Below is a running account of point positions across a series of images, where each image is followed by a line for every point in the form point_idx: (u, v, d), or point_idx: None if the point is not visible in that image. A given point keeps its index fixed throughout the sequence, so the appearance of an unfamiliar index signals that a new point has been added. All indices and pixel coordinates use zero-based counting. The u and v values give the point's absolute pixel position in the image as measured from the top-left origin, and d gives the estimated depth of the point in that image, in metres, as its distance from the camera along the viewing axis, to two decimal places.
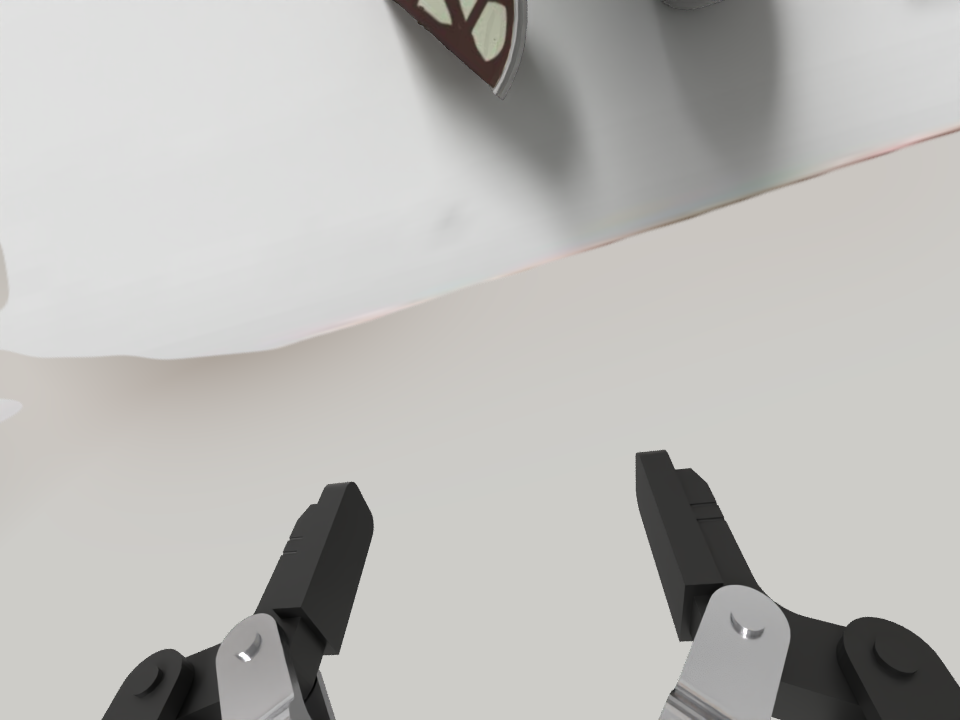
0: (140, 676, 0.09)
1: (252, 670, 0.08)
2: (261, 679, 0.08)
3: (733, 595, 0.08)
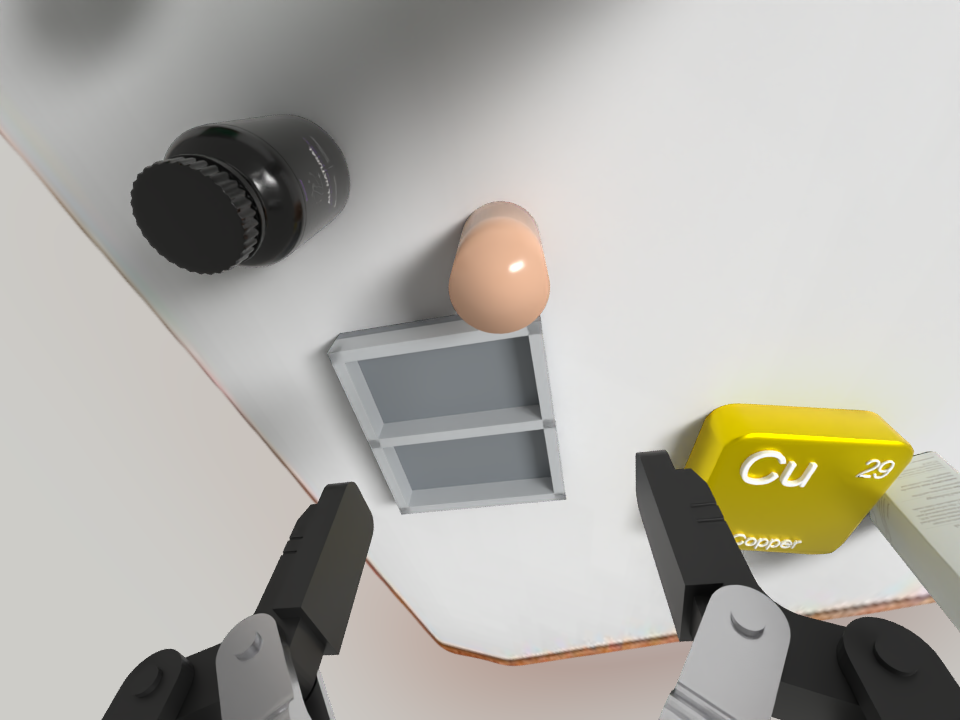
0: (140, 676, 0.09)
1: (252, 671, 0.08)
2: (261, 679, 0.08)
3: (733, 595, 0.08)
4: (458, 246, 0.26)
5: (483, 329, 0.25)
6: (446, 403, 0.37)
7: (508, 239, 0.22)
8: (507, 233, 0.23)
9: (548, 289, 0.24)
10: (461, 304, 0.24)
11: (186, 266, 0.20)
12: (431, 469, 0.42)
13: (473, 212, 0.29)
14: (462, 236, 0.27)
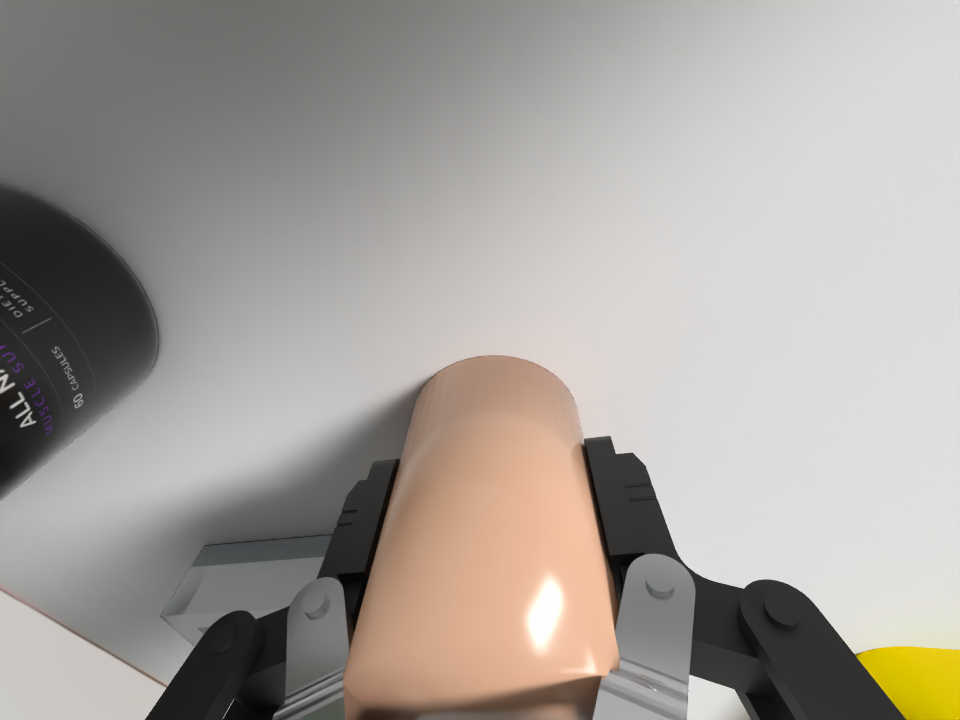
0: (218, 633, 0.09)
1: (317, 633, 0.09)
2: (334, 636, 0.09)
3: (650, 562, 0.09)
4: (389, 506, 0.11)
5: None
6: None
7: (516, 637, 0.07)
8: (513, 570, 0.07)
9: None
10: None
11: None
12: None
13: (436, 376, 0.13)
14: (402, 470, 0.11)
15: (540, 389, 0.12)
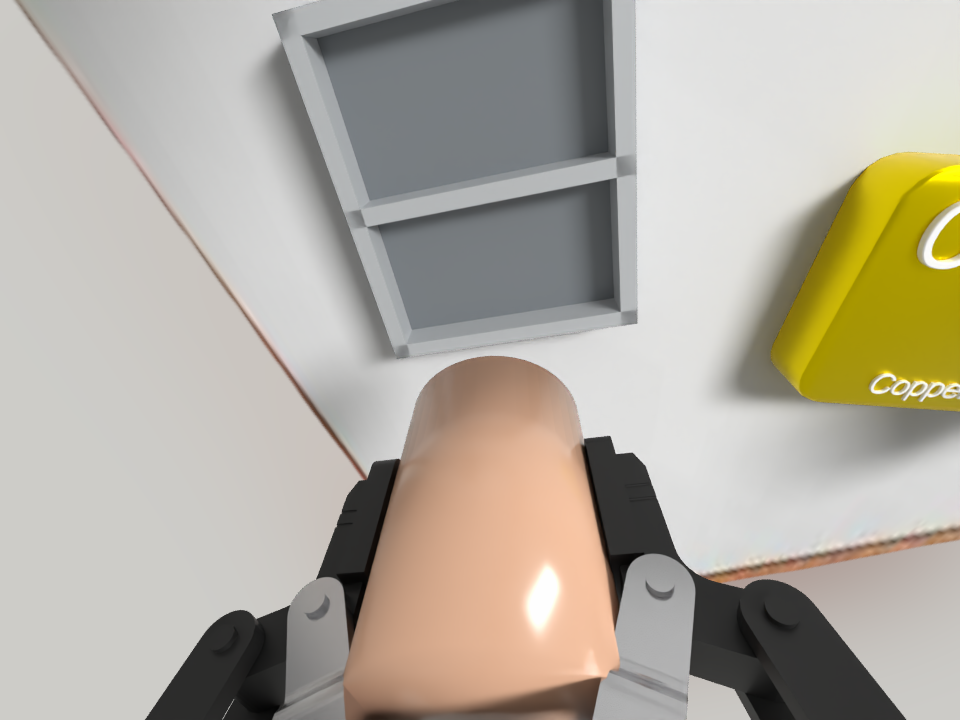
0: (218, 632, 0.09)
1: (317, 633, 0.09)
2: (335, 636, 0.09)
3: (650, 562, 0.09)
4: (389, 507, 0.11)
5: None
6: (464, 155, 0.25)
7: (516, 639, 0.07)
8: (513, 571, 0.07)
9: None
10: None
11: None
12: (440, 289, 0.29)
13: (436, 376, 0.13)
14: (401, 470, 0.11)
15: (540, 390, 0.12)
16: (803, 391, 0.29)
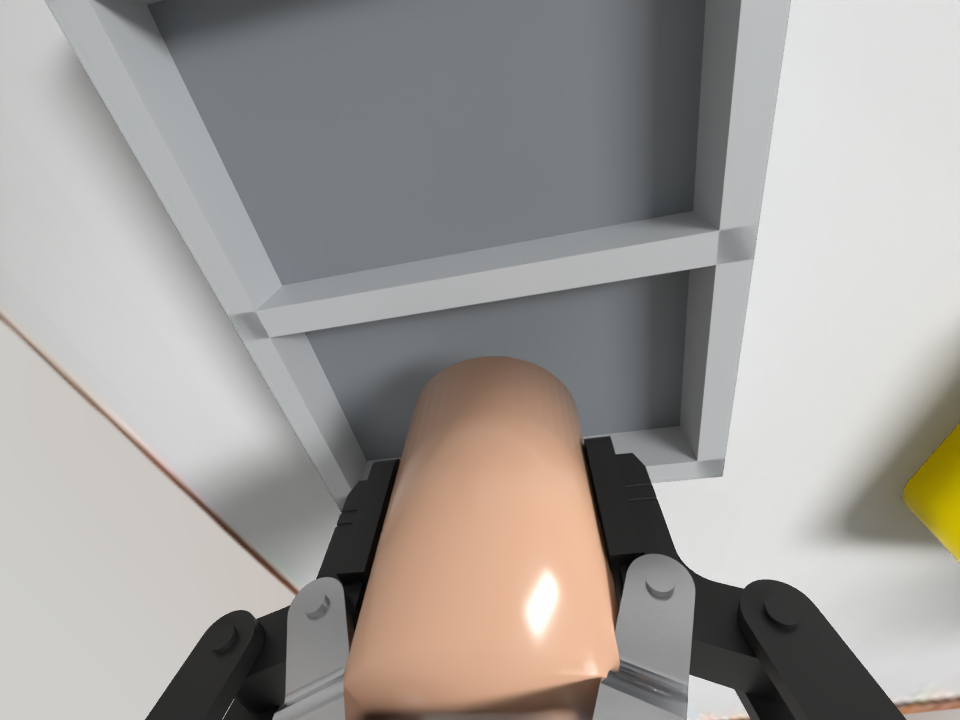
0: (218, 632, 0.09)
1: (317, 633, 0.09)
2: (335, 636, 0.09)
3: (650, 562, 0.09)
4: (389, 507, 0.11)
5: None
6: (437, 215, 0.14)
7: (516, 640, 0.07)
8: (513, 571, 0.07)
9: None
10: None
11: None
12: (407, 411, 0.19)
13: (436, 376, 0.13)
14: (402, 471, 0.11)
15: (540, 390, 0.12)
16: None
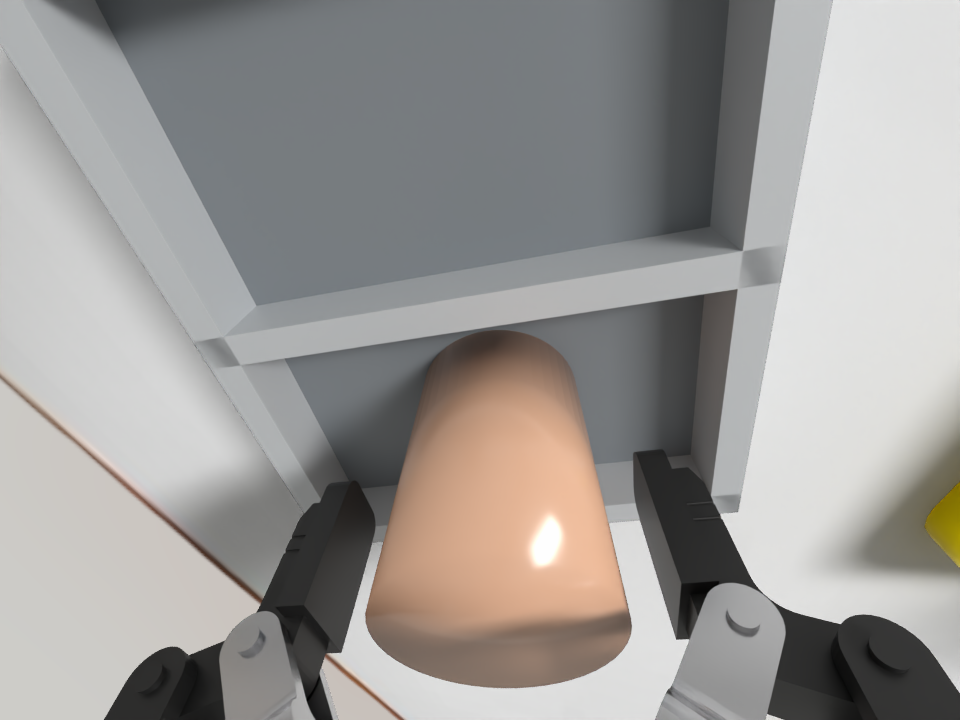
0: (144, 674, 0.09)
1: (256, 668, 0.08)
2: (264, 677, 0.08)
3: (729, 593, 0.08)
4: (405, 459, 0.12)
5: (459, 681, 0.11)
6: (425, 231, 0.13)
7: (522, 547, 0.08)
8: (519, 498, 0.09)
9: (626, 636, 0.09)
10: (402, 648, 0.10)
11: None
12: (395, 438, 0.17)
13: (445, 349, 0.15)
14: (416, 429, 0.12)
15: (541, 359, 0.13)
16: None
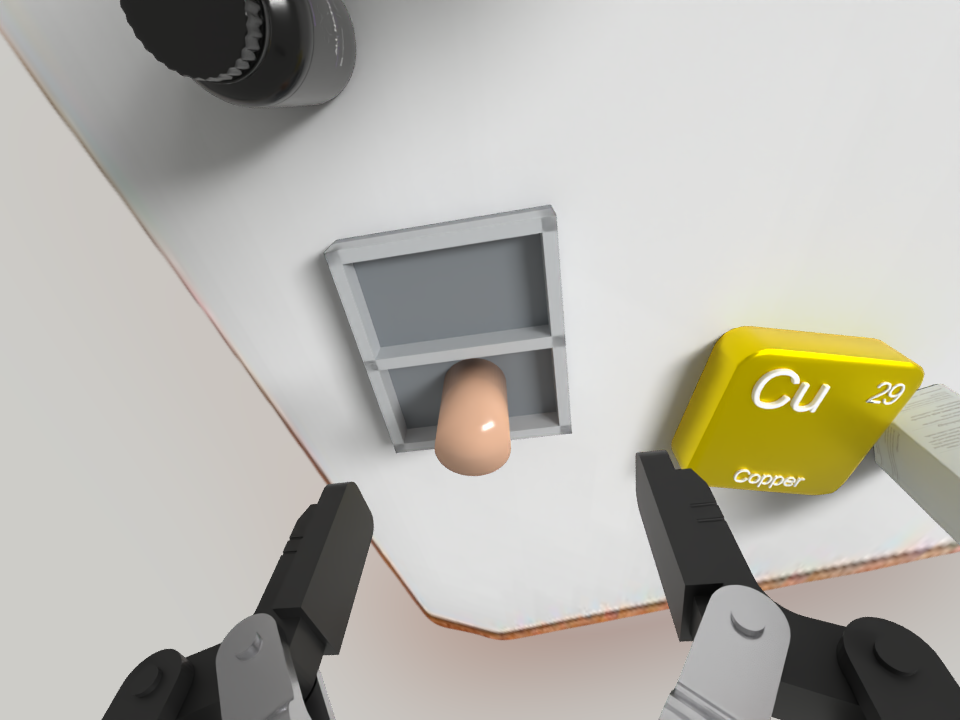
0: (140, 676, 0.09)
1: (252, 670, 0.08)
2: (261, 679, 0.08)
3: (733, 595, 0.08)
4: (442, 403, 0.34)
5: (460, 473, 0.33)
6: (449, 323, 0.35)
7: (479, 418, 0.30)
8: (479, 408, 0.31)
9: (509, 449, 0.31)
10: (443, 457, 0.32)
11: (177, 67, 0.17)
12: (429, 403, 0.39)
13: (454, 365, 0.37)
14: (445, 394, 0.34)
15: (490, 369, 0.36)
16: None
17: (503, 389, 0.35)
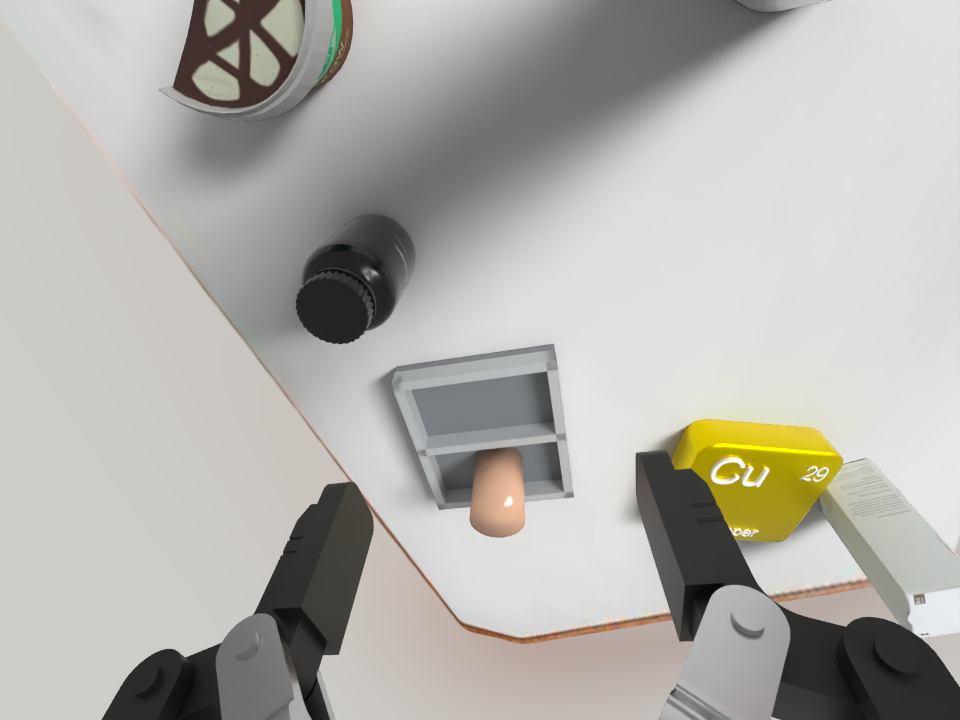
0: (140, 676, 0.09)
1: (252, 671, 0.08)
2: (261, 679, 0.08)
3: (733, 595, 0.08)
4: (474, 482, 0.46)
5: (488, 535, 0.45)
6: (479, 420, 0.47)
7: (502, 501, 0.42)
8: (502, 492, 0.43)
9: (524, 521, 0.43)
10: (476, 525, 0.44)
11: (325, 339, 0.29)
12: (464, 473, 0.51)
13: None
14: (476, 474, 0.46)
15: (510, 453, 0.48)
16: None
17: (520, 469, 0.47)
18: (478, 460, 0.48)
